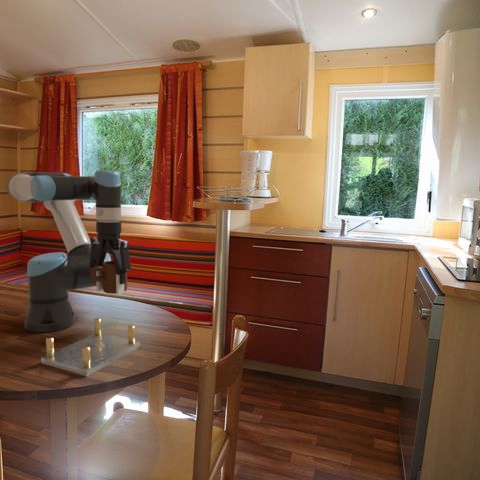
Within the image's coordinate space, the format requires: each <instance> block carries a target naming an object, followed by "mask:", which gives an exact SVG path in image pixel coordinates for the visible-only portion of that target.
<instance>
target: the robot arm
mask: <svg viewBox="0 0 480 480" xmlns="http://www.w3.org/2000/svg"><path fill="white" fill-rule="evenodd" d="M5 187H6V191H7V193H8V194H9V196H10V197H11V198H13V199H14V200H16V201H19V202H23V203H42V204H43V206H44V207H45V209H46V210H48V211H50V212H51V214H52V217H53V219H54V221H55V225H56V227H57V229H58V231H59V233H60V234H59V235H60V236H61V238H62V240H63V244H64V246H65V249H66V250H67V253H65V252H63V251H59V252H57V251H55V252H48V253H43V254H39V255H36V256H34V257H32V258H30V259H29V260H28V262H27V267H26V268H27V271H26V277H27V283H28V285H27V286H28V287H27V289H28V300H29V301H28V308H27V311H26V315H25V318H24V320H23V322H24V329H25V330H26V331H28V332H31V333H32V332H33V333H49V332H56V331H61V330H64V329H66V328H69V327H71V326H73V325H74V324H75V323H76V315H75V312H74V311H73V307H72V304H71V302H70V300H69V291H75V290H80V289H81V290H82V289H86V288H87V289H88V288H93V287H95V288H96V292H101V291H103V283H102V282H96V281H94V280H93V279H92V278H91V276H90V271H91V269H92V268H93V267H95V266H101V267H102V263H103V262H106V261H112V259H113V261H114V262H115V265H116V268H117V271H118V273H117V274H116V295H117V296H120V295H122V294H124V293H125V292H124V284H125V282H126V276H125V274H126V273H127V274H128V273H130V272H131V271H132V267H131V260H130V252H129V243H130V242H129V240H123V239H122V238H121V233H122V221H121V220H122V182H121V173H120V172H119V171H117V170H96V171H95V173H94V175H93V176H91V175H89V176H88V175H87V176H82V175H81V176H77V175H76V176H74V175H71V174H69V173H67V172H65V173H64V172H43V171H42V172H41V171H22V172H19V173H16V174H13V175H11V176H10V177H9V178H8V180H7V182H6V186H5ZM75 201H95V220H96V222H95V232H96V234H97V236H96V237H91V238H90V236H89V234H88V232H87V230H86V228H85V225H84V222H83V221H82V219H81V217H80V214H79V212H78V210H77V208H76V205H75ZM108 251H109V253H108ZM110 254H111V255H112V257H111V255H110ZM121 269H122V270H121ZM95 274H96V276H102V272H101V271H96V272H95Z"/></svg>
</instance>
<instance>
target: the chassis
mask: <svg viewBox="0 0 480 480" xmlns="http://www.w3.org/2000/svg"><path fill="white" fill-rule="evenodd" d="M93 321H94V334H91V335H89V336H86V337H85V338H83V339H80V340H78V341H76V342H74V343H71V344H69V345H67V346H65V347H63V348H59V349H58V350H56V351H55V342H54V341H55V339H54V336H50V337H48V336H47V337H46V338H45V347H46V349H45V350H46V355H44V356H42V357H41V358H40V359H41V360H40V361H41V362H40V363H41V364H43V365H46V366H49V367H52V368H53V367H54V368H56V369H59V370H60V369H61V370H64V371H67V372H70V373H73V374H77V375H81V376H83V377H84V376H85V377H89V376H91V375H92V374H94V373H96V372H99V370H101V369H104V368H105V367H107V366H109V365H111V364H112V363H114V362H115V361H118V360H120V359H121V358H123V357H125V356H126V355H128V354H131V353H132V352H133V350H134V351H135V350H137V349H139V348H140V347H141V341H137V340H136V326H135V325H134V324H130V325H128V326H127V329H128V330H127V333H128V336H127V337H128V338H124V337H119V336H115V335H111V334H106V333H102V319H101V318H100V317H97V318H95V319H94V320H93Z"/></svg>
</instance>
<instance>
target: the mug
mask: <svg viewBox="0 0 480 480" xmlns="http://www.w3.org/2000/svg"><path fill="white" fill-rule="evenodd" d="M121 270H122V269H121ZM96 271H101V272H102V276H96V274H95V272H96ZM117 273H118V271H117V268H116V265H115V262H114V260H111V261H106V262H103V263H102V267H101V266H95V267H93V268H92V269H91V271H90V276H91V278H92V279H93V280H94V281H96V282H102V283H103V290H102V291H103V292H104V293H106V294H111V295H112V294H113V295H115V294H116V295H117V293H116V274H117ZM125 276H126V282H125V284H124V293H125V292H126V291H127V290H128V272H127V273H126V274H125Z"/></svg>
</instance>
